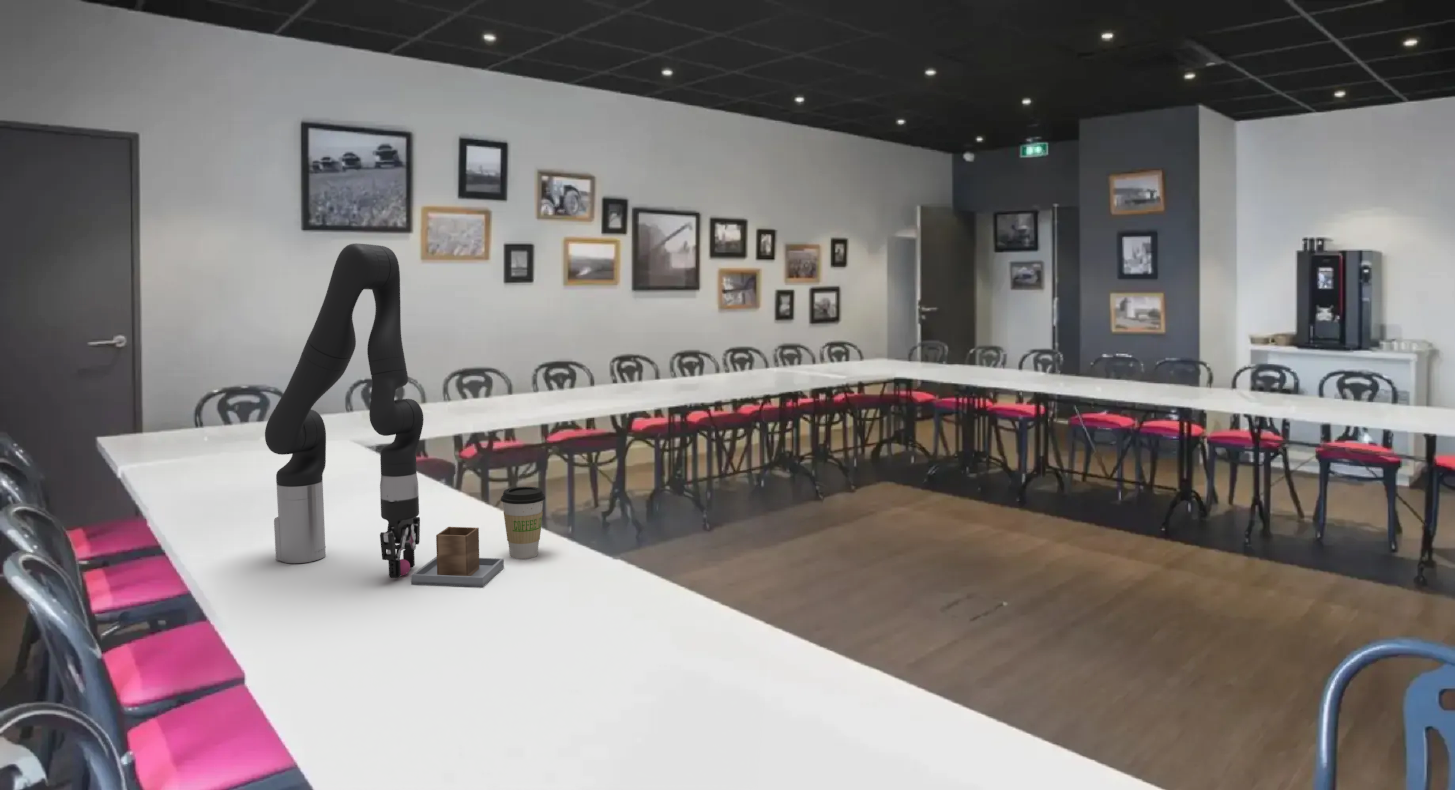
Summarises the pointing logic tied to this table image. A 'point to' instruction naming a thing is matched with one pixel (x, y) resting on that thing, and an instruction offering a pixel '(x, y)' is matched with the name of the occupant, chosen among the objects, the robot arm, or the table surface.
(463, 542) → the pen cup
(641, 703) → the table surface
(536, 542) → the coffee cup
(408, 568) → the ball
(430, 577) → the tray
